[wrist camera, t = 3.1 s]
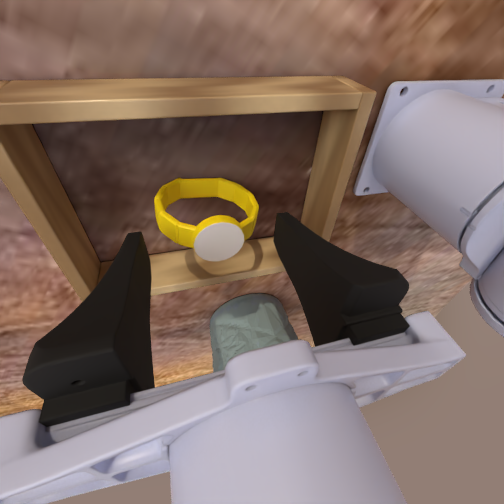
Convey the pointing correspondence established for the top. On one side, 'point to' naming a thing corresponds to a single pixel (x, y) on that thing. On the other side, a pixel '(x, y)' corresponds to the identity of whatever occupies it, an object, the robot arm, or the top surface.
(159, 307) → the top surface
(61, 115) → the box
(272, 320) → the green embossed cup
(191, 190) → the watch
